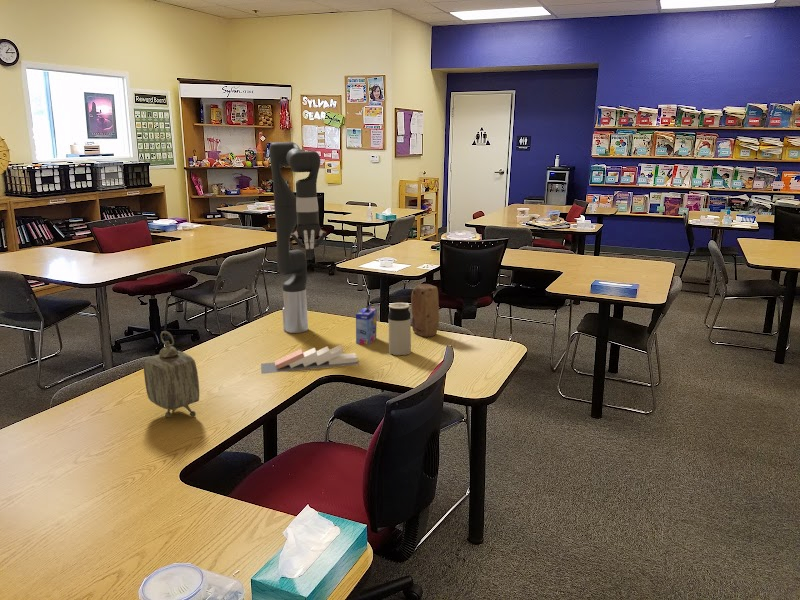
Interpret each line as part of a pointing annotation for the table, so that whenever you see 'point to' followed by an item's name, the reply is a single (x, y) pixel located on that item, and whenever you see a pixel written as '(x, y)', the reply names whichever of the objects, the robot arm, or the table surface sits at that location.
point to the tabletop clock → (171, 378)
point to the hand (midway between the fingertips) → (310, 259)
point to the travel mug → (399, 329)
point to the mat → (299, 367)
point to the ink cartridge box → (366, 325)
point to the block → (425, 310)
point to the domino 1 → (289, 359)
